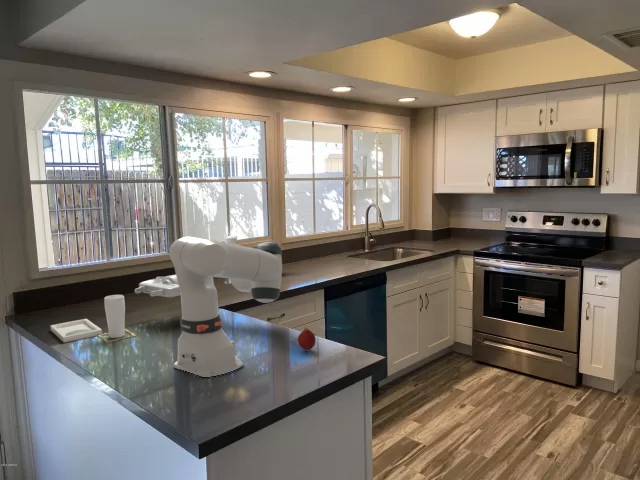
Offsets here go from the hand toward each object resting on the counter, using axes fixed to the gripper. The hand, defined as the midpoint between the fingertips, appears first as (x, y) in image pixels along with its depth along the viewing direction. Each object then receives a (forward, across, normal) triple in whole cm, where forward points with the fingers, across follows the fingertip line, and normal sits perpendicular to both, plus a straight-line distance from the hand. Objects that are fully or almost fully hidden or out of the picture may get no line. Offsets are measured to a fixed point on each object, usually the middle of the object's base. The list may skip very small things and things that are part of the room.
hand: (143, 292), depth 184 cm
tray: (+18, +17, -14) cm, 29 cm away
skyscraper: (-78, +31, -14) cm, 85 cm away
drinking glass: (+12, -1, -14) cm, 19 cm away
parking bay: (+12, -1, -14) cm, 19 cm away
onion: (-12, -70, -14) cm, 72 cm away
